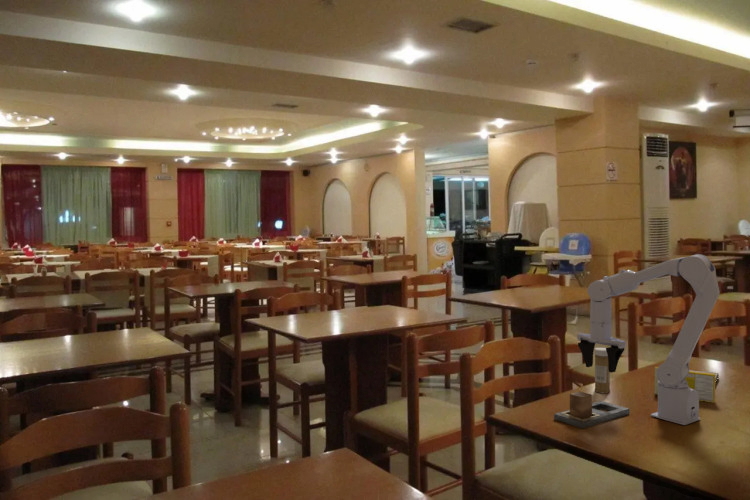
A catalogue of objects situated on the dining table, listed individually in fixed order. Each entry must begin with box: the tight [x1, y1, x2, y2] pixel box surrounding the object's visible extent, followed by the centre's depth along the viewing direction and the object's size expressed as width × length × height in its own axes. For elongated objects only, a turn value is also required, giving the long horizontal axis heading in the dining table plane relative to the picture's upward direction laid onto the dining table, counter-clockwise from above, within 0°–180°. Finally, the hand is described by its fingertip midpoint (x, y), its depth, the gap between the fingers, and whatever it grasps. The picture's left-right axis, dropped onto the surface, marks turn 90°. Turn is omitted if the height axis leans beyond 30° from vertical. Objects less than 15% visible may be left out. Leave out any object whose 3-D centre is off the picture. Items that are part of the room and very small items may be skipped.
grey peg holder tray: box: [553, 400, 630, 430], centre depth 164 cm, size 9×20×2 cm, turn 124°
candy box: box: [653, 366, 716, 404], centre depth 180 cm, size 16×2×8 cm, turn 52°
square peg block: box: [569, 391, 593, 419], centre depth 161 cm, size 4×4×7 cm
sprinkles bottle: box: [594, 347, 611, 394], centre depth 187 cm, size 5×5×14 cm
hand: (600, 369), depth 174 cm, fingers open, 7 cm apart
